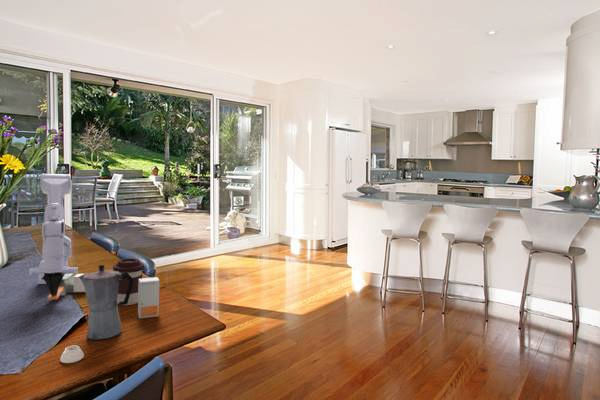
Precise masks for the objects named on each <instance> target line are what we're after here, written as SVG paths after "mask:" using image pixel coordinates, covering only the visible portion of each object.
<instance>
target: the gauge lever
mask: <svg viewBox="0 0 600 400" xmlns="http://www.w3.org/2000/svg"><path fill="white" fill-rule="evenodd" d="M65 288H66V285H59V288H58V293H57V294H56V295H51V294H50V293H49V295H48V296H47V300H58V299H59V297H60V296H62V295H61V293H62V292H63V290H64V289H65Z"/></svg>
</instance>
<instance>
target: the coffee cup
mask: <svg viewBox="0 0 600 400" xmlns="http://www.w3.org/2000/svg"><path fill="white" fill-rule="evenodd" d="M144 269H145V263H143V262H141V261H140V259H138V258H130V257H129V258H123V259H119V260H118V261H117V263H115V264H113V265H112V271H117V272H119V273H124V272H128V274H129V275H130V276H131V277H132V278H133V280H134V284H133V287H132V290H131V293H130V296H129V299H128V303H127V304H125V305H124V306H133V305H136V304H138V284H139V279H142V278H143V271H144ZM128 284H129V280H128V279H123V280H119V285H118V297H117V305H119V302H123V301H124V299H125V297H126V291H127V288H128Z"/></svg>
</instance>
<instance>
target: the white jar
mask: <svg viewBox="0 0 600 400" xmlns="http://www.w3.org/2000/svg"><path fill="white" fill-rule="evenodd" d="M84 356H85V354H84V352H83V350H82V349H81V348H80V346H79V345H76V344H75V345H69V346H67V347H65V349H64V351H63V352H62V354H61V356H60V358H59V361H60V362H61V363H63V364H73V363H77V362H79V361H80V360H82V359H83V358H84Z"/></svg>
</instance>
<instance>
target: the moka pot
mask: <svg viewBox="0 0 600 400" xmlns="http://www.w3.org/2000/svg"><path fill="white" fill-rule="evenodd" d="M82 274H83V275H81V276H79V277H78V278H80V279H81V281H82V282H83V284H84V287H85V292H86V293H85V297H86V302H87V304H88V309H89V312H88V313H89V314H88V322H87V336H86V337H87V338H88V339H90V340H95V341H96V340H99V341H100V340H107V339H110V338H114V337H116V336H117V335H119V334H121V333H122V323H121V319H120V317H121V316H120V313H119V306H126V305H125V304H127V303H128V299H129V296H130V293H131V290H132V287H133V284H134V280H133V278H132V277H131V276H130V275H129V274H128V272H124V273H119V272H117V271H113V270H109V269H108V270H105V265H104V264H100V265H98V271H93V272H88V273H82ZM123 279H128V280H129V284H128V288H127V291H126V297H125V299H124V301H123V302H119V304H118V303H117V297H118V285H119V280H123Z"/></svg>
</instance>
